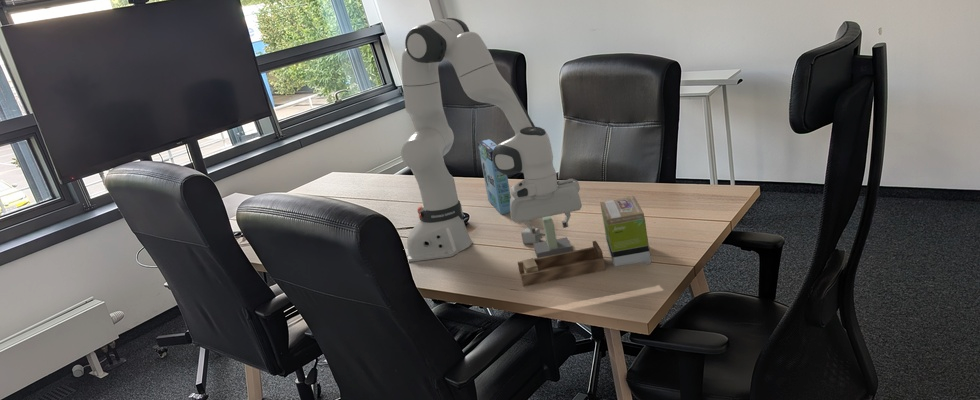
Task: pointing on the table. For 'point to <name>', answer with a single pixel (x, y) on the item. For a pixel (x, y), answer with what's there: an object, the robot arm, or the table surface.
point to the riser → (543, 249)
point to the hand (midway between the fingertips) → (549, 230)
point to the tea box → (625, 231)
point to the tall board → (549, 232)
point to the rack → (564, 265)
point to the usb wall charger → (531, 236)
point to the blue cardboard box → (494, 179)
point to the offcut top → (530, 265)
